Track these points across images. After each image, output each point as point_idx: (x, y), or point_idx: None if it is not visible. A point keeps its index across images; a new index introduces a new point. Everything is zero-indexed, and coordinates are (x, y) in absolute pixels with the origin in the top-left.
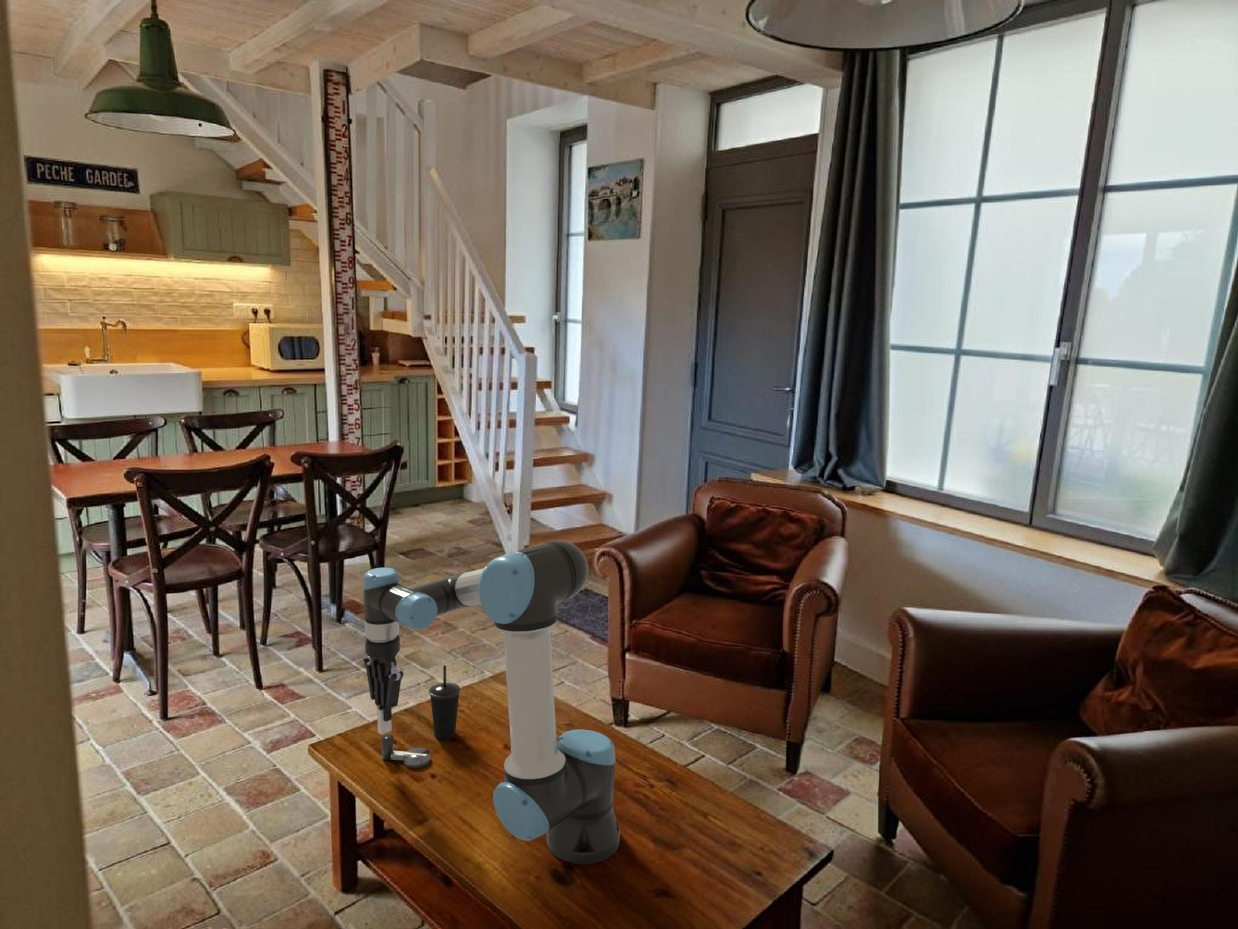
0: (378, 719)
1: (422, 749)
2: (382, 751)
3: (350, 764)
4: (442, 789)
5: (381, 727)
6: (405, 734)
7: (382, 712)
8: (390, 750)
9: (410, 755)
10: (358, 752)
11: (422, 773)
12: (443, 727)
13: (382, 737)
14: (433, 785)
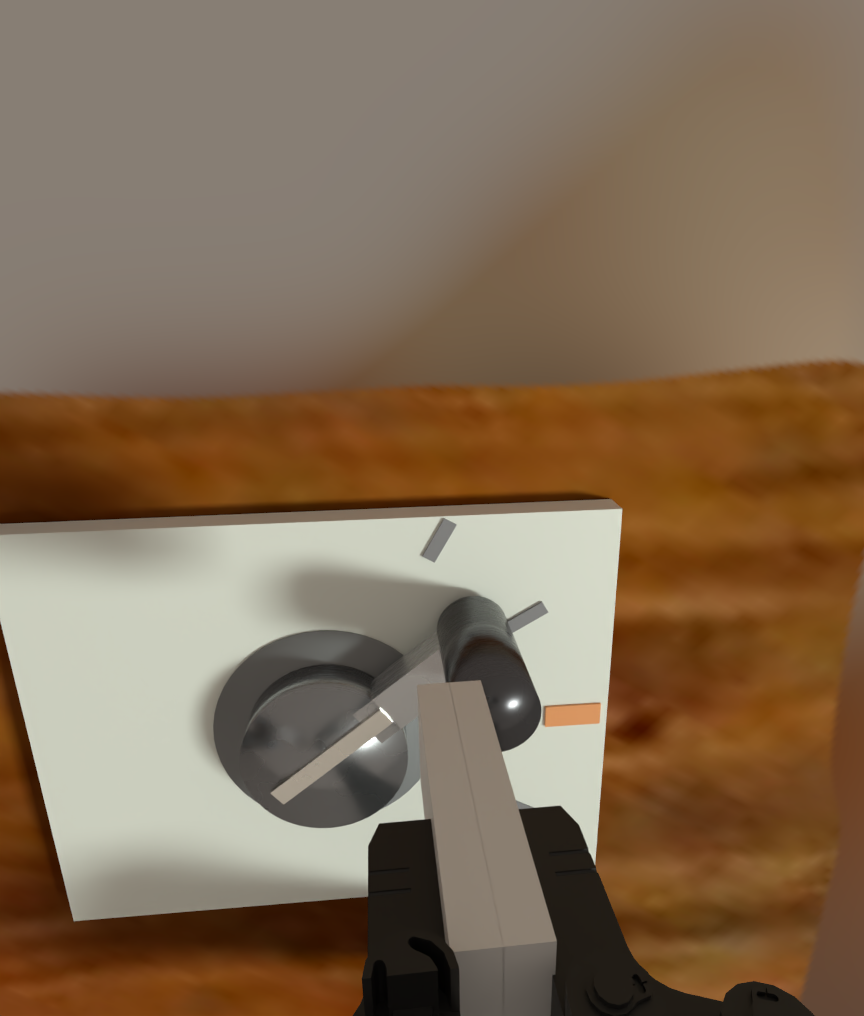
0: (488, 787)
1: (353, 809)
2: (485, 622)
3: (623, 441)
4: None
5: (423, 739)
6: (649, 802)
7: (440, 909)
8: (443, 664)
9: (340, 730)
10: (697, 537)
11: None
12: None
13: (522, 687)
14: None
